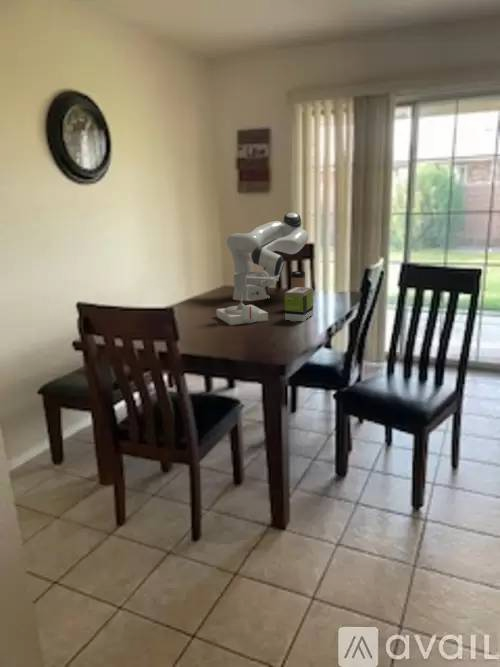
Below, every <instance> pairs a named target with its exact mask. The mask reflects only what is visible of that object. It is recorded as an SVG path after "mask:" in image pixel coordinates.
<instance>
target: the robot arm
mask: <svg viewBox="0 0 500 667" xmlns="http://www.w3.org/2000/svg"><path fill="white" fill-rule="evenodd" d="M283 216H284V217H283V221H282V222H283V223H282V222H281V221H279V220H275V221H270V222H266V223H264V224H262V225H259V226H257V227H254V228H253V229H252V231H250V232H247V233H244V232H243V233H241V232H240V233H239V232H235V233H232V234H230V235H229V236H227V238H226V247H228V248H229V251H230V253H231V256H232V258H233V264H234V266H233V267H234V273H239V272H244V273H247V284H246V287H245V289H244V291H243V292H242V295H243V296H242V299H243V300H242V302H253V301H254V302H255V301H261V300H267V298H268V299H270V298H271V297H270V295H269V294H267V291H266V286H274V285H276V284H277V282H279V281H280V280H279V278H280V274H281V273H282V272H283V271H284V266H285V261H284V257H283V255H281V254H278V253H275V252H280V253H281V252H282V253H284V254H287V255H295V254H297V253H298V252H300V251H301V250H302V249H303V248H304V247H305V245H306V244H307V242H308V240H309V234H308V231H306V230H305V229H303V228H302V224H303V223H302V218H301V216H300V214H299V213H298V212H288V213H286V214H284V215H283ZM249 254H251V256H250V255H249ZM250 257H251V258H250ZM254 265H257V266H261V267H262V268H264V269H262V270H258V271H254ZM233 283H234V284H233V285H234V289H233V296H232V300H234V301H239V302H241V301H240V292H239V291H238V289H237V287H236V285H235V275H234V276H233Z"/></svg>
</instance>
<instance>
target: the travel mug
mask: <svg viewBox="0 0 500 667" xmlns="http://www.w3.org/2000/svg"><path fill="white" fill-rule="evenodd" d="M294 287H305V288H306V272H305V271H301V270H300V271H299V270H296V271H291V272H290V289H292V288H294Z"/></svg>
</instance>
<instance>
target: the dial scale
mask: <svg viewBox="0 0 500 667" xmlns="http://www.w3.org/2000/svg"><path fill="white" fill-rule="evenodd" d="M244 305H245V304H244ZM237 307H238V305H231V306H228V307H225V308H216V318H218V319H220V320H222V321H223V322H225V323H227V324H228V325H229V326H233V325H235V326H236V325H241V324H253V323H258V322H265V321H269V312H267V311H266V310H263V309H261V308H259V307H258V306H255V305H254V304H247V305H245V307H244V308H243V309H242V310H237Z"/></svg>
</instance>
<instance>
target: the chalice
mask: <svg viewBox="0 0 500 667" xmlns="http://www.w3.org/2000/svg"><path fill="white" fill-rule="evenodd" d="M233 275H234V276H235V285H236V287H237V289H238V291H239V292H240V301H239V302H240V303H238V305H237V306H238V307H237V310H242V309H243V308H244V307H245V304H244V303H243V301H242V300H243V299H242V296H243V295H242V292H243V291H244V289H245V287H246V284H247V273H244V272H239V273H235V272H234V273H233ZM235 285H234V286H235Z"/></svg>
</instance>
